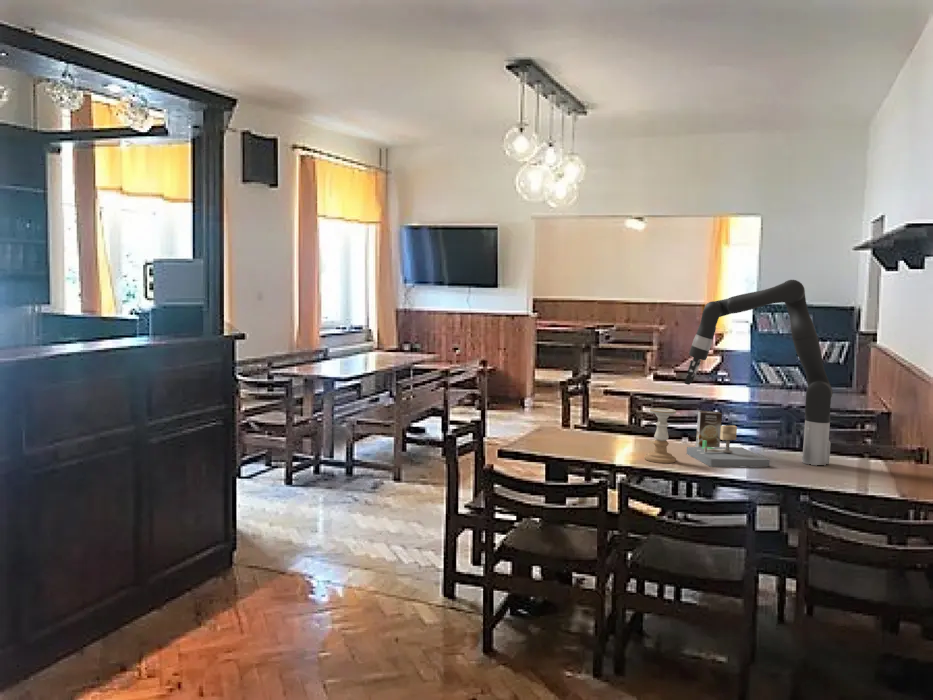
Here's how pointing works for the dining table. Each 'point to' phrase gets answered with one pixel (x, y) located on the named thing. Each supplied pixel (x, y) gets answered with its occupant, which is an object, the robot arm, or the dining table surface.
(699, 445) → the coffee box
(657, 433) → the candle holder
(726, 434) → the tuning key
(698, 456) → the board
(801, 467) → the dining table surface
